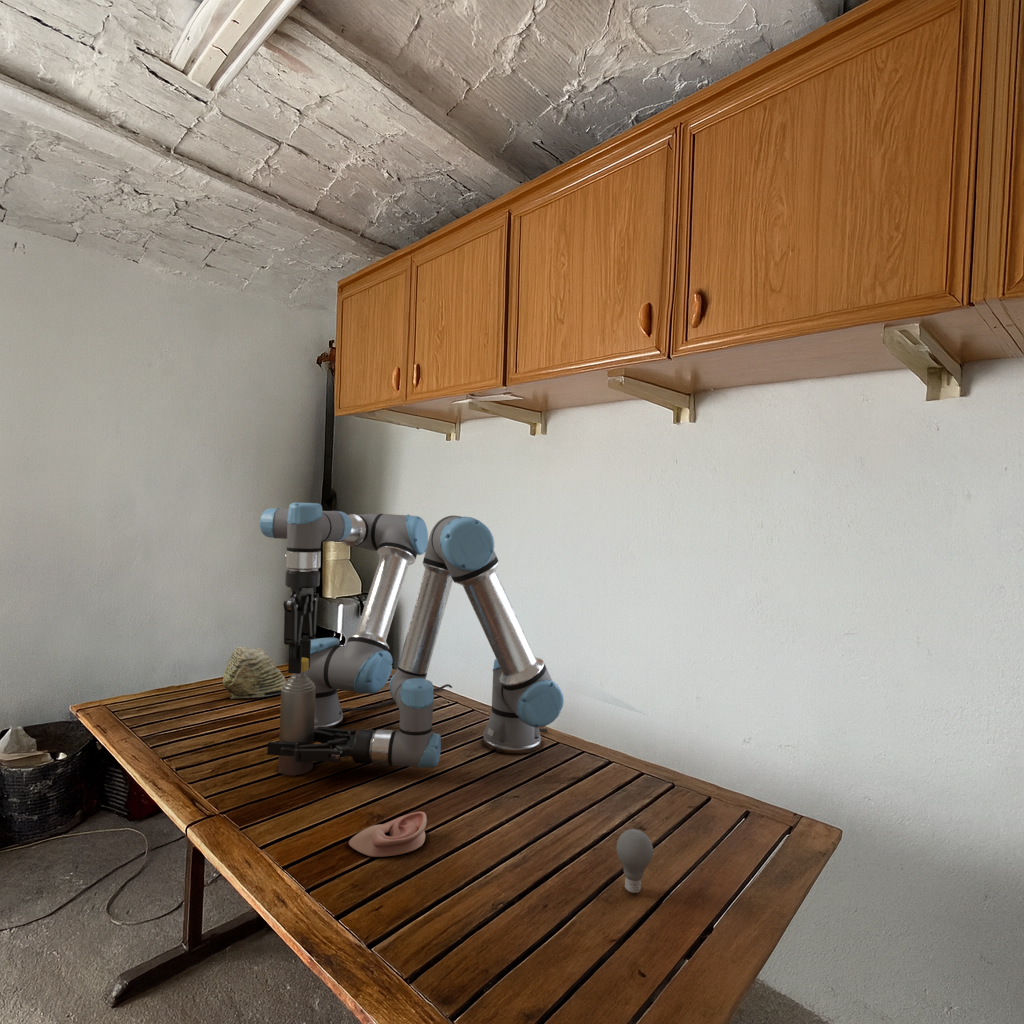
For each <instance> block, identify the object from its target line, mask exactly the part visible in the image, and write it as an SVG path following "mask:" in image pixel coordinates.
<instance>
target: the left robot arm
mask: <svg viewBox="0 0 1024 1024" xmlns="http://www.w3.org/2000/svg"><path fill="white" fill-rule="evenodd" d="M259 520H260V521H259V529H260V532H261V534H262V535H263V536H264V537H267V538H273V539H281V540H286V554H285V555H284V558H285V559H286V561H285V567H286V568H287V569H286V571H285V578H284V579H285V580H284V581H285V582H284V584H285V587H287V588H290V589H291V590H290V594H289V600H284V601H283V604H282V605H283V610H284V618H283V620H284V621H283V622H284V623H283V643H284V645H286V646H288V664H287V665H288V668H287V673H288V674H293V673H294V674H300V673H301V658H302V657H304V658H308V659H309V669H308V670H307V671H306V674H305V675H307V677H309V678H310V680H312V682H313V683H314V684H315V686H316V692H315V718H314V729H317V727H319V726H320V727H329V728H337V727H339V726H340V725H342V723H343V722H344V714H343V712H346V711H349V712H350V711H364V710H365V711H366V710H370V709H375V708H379V707H382V706H386V705H389V704H392V703H394V702H395V700H394V699H393V698H392V699H391V700H388V701H385V702H381V703H378V704H374V705H369V706H363V707H343V708H342V706H341V702H340V699H339V695H338V691H346V692H351V693H357V694H359V695H362V694H368V695H373V694H376V693H379V692H380V691H381V690H382V689H383V688H384V687H385V685H386V684H387V683H388V681H389V679H390V676H391V675H392V670H393V665H392V664H393V656H392V654H391V653H390V652H389V650H390V646H389V644H388V643H387V638H388V635H389V633H390V630H391V629H390V628H391V625H392V621H393V618H394V616H395V612H396V609H397V605H398V602H399V599H400V596H401V592H402V589H403V585H404V582H405V579H406V575H407V572H408V569H409V566H411V565H414V564H415V563H416V561H417V557H418V556H421V555H425V552H426V548H427V544H428V540H429V532H428V526H427V524H426V522H425V520H424V519H423V517H421V516H419V515H410V514H392V513H365V514H363V513H362V514H355V513H349V514H347V513H346V512H344V511H338V510H323V506H322V504H321V503H318V502H292V503H290V504H289V505H288V508H280V507H275V508H274V507H273V508H272V507H271V508H267V509H265V510H264V511H263V512H262V513H261V515H260V518H259ZM332 542H334V543H342V544H343V545H345V546H347V547H356V548H360V549H365V550H368V551H372V552H373V551H374V552H376V553H377V555H378V556H379V561H378V564H377V567H376V570H375V573H374V576H373V579H372V582H371V584H370V589H369V591H368V594H367V597H366V601H365V603H364V607H363V610H362V613H361V616H360V618H359V622H358V625H357V629H356V631H355V633H353V634H352V635H350V636H348V638H347V641H346V644H345V645H340V644H341V643H340V642H341V641H340V639H339V638H337V637H321V638H319V637H318V638H316V633H317V620H318V619H317V617H318V602H319V597H320V595H319V593H315V592H314V589H315V588H317V587H319V586H320V580H321V572H320V570H319V569H320V568H321V561H322V560H321V559H322V558H321V557H322V555H321V553H322V552H321V551H322V550H321V547H322V543H332ZM447 687H448V688H450V689H453V686H452V685H451V684H450V683H449V684H444V685H442V686H440V687H436V688H433V692H436V691H440V690H442V689H445V688H447Z"/></svg>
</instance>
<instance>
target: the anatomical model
mask: <svg viewBox="0 0 1024 1024" xmlns="http://www.w3.org/2000/svg"><path fill="white" fill-rule="evenodd" d="M427 821H428V819H427V814H426V813H425V812H424V811H414V812H411V813H408V814H404V815H402V816H399V817H396V818H395V819H391V820H390V821H388V822H385V823H382V824H381V823H380V824H374V825H371V826H369V827H366V828H364V829H362V830H361V831H359V832H358V833H356V834H355V835H354V836H352V837H351V838H350V839H349V841H348V845H349V847H351V848H352V849H353V850H355V851H356V852H358V853H360V854H362V855H365V856H367V857H371V858H372V857H373V858H382V857H391V856H399V855H403V854H407V853H410V852H412V851H413V852H414V851H415V850H417V849H419V848H420V847H422V846H423V845H424V843H425V842H426V832H425V829H426V827H427Z"/></svg>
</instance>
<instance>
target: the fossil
mask: <svg viewBox="0 0 1024 1024" xmlns="http://www.w3.org/2000/svg"><path fill="white" fill-rule="evenodd" d="M222 676H223V677H222V685H223V687H224V688H225V690H226V691H228V693H229V698H230V699H250V698H264V697H271V696H275V695H281V688H282V687H283V684H285V682H286V681H287V680H286V678H285V676H284V674H283V673H282V672H281V669H279V668H278V667H277V665H276V663H275V662H274V660H273V659H272V658H271V657H270V656H269V655H268V654H267V653H266V652H265V650H264V649H263V648H260V647H258V648H251V647H247V646H246V647H245V646H238V647H237V648H236V649H235V650H233V651H232V653H231V656H230V657H229V659H228V660H227V663H226V666H225V668H224V671H223V675H222Z"/></svg>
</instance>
